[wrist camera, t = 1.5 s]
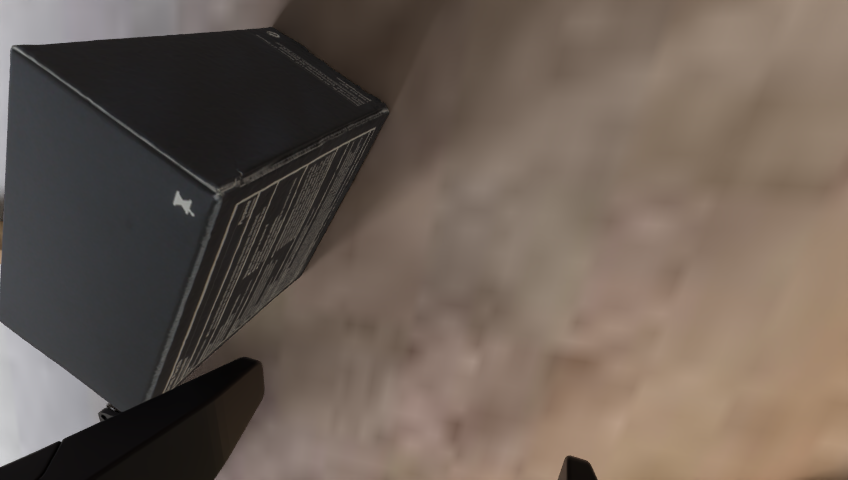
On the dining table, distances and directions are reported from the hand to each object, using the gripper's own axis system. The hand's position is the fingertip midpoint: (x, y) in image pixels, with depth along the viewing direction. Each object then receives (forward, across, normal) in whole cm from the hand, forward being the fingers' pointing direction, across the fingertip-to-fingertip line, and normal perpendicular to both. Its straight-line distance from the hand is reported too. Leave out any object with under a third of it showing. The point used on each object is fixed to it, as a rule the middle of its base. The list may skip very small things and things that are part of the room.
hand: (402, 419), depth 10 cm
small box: (+12, +10, 0) cm, 16 cm away
